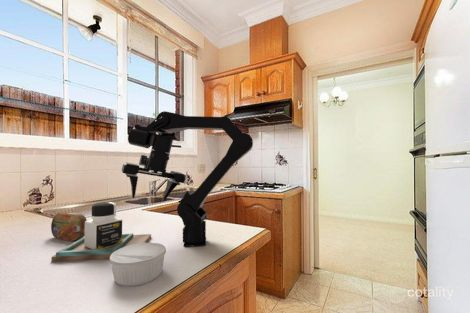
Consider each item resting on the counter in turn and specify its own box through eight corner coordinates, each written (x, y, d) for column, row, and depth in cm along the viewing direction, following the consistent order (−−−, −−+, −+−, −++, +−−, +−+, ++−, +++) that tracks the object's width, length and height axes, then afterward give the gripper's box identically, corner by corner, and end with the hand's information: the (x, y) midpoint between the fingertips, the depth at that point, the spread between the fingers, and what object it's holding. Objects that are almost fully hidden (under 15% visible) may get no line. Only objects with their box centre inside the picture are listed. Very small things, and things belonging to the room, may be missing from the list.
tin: (49, 237, 74) (50, 212, 75) (60, 235, 77) (60, 210, 78) (79, 243, 69) (79, 215, 69) (89, 240, 72) (89, 213, 72)
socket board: (151, 237, 73) (151, 231, 73) (134, 257, 57) (135, 248, 58) (86, 240, 71) (86, 233, 71) (51, 261, 55) (51, 252, 55)
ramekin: (105, 295, 41) (106, 266, 41) (112, 269, 51) (112, 246, 51) (168, 282, 45) (168, 256, 45) (163, 261, 55) (163, 239, 56)
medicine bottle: (96, 251, 58) (97, 205, 59) (83, 246, 62) (84, 203, 63) (122, 243, 64) (123, 202, 65) (109, 239, 68) (110, 200, 69)
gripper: (180, 156, 82) (170, 197, 81) (126, 143, 72) (114, 190, 72) (191, 158, 72) (179, 205, 72) (130, 144, 63) (116, 198, 62)
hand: (148, 199), depth 70 cm, fingers open, 9 cm apart
